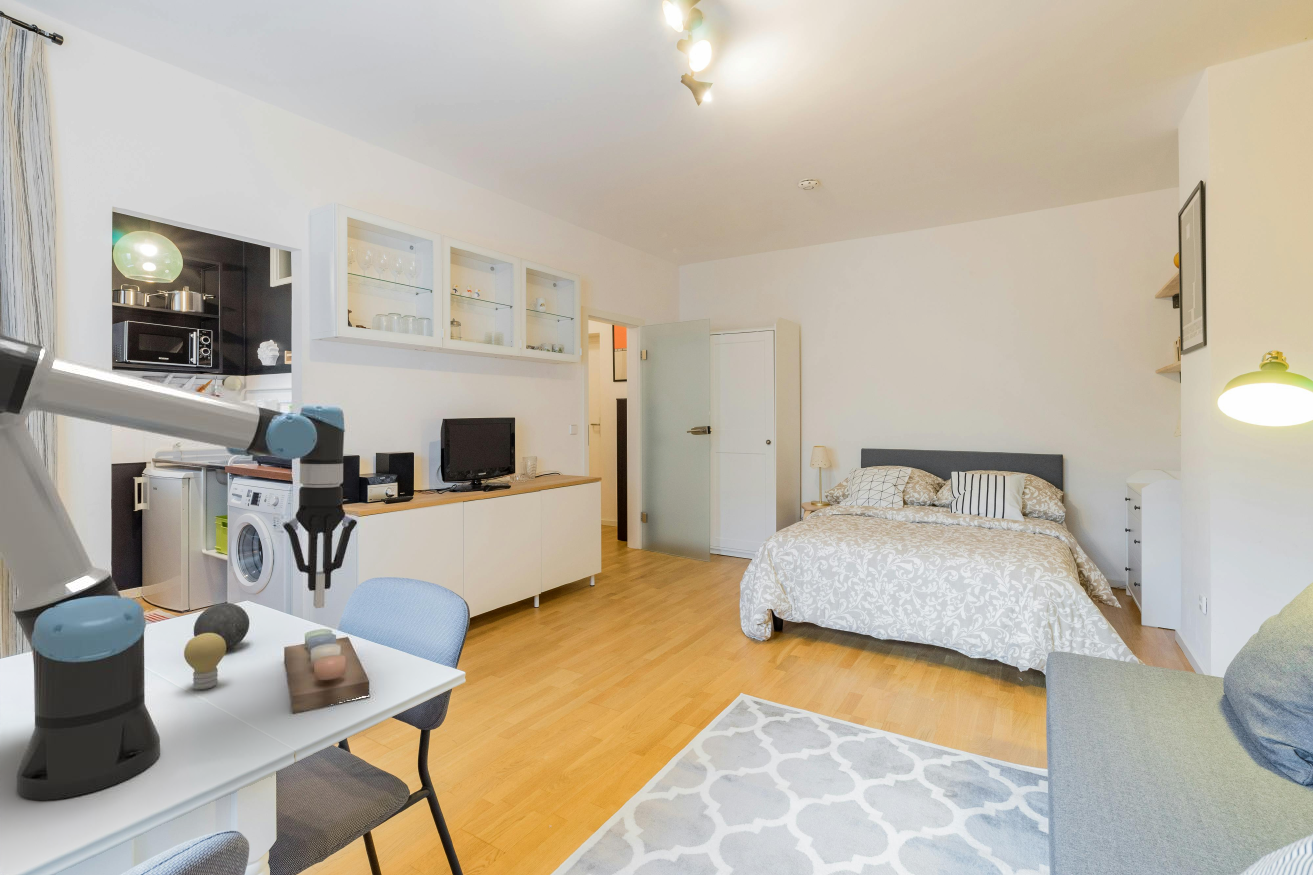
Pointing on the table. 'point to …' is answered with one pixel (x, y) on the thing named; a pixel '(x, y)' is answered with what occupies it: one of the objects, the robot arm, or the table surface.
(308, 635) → the sage button
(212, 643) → the light bulb
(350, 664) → the button board
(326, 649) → the cream button
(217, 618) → the decorative ball
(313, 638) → the slate button
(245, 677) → the table surface
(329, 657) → the terracotta button
